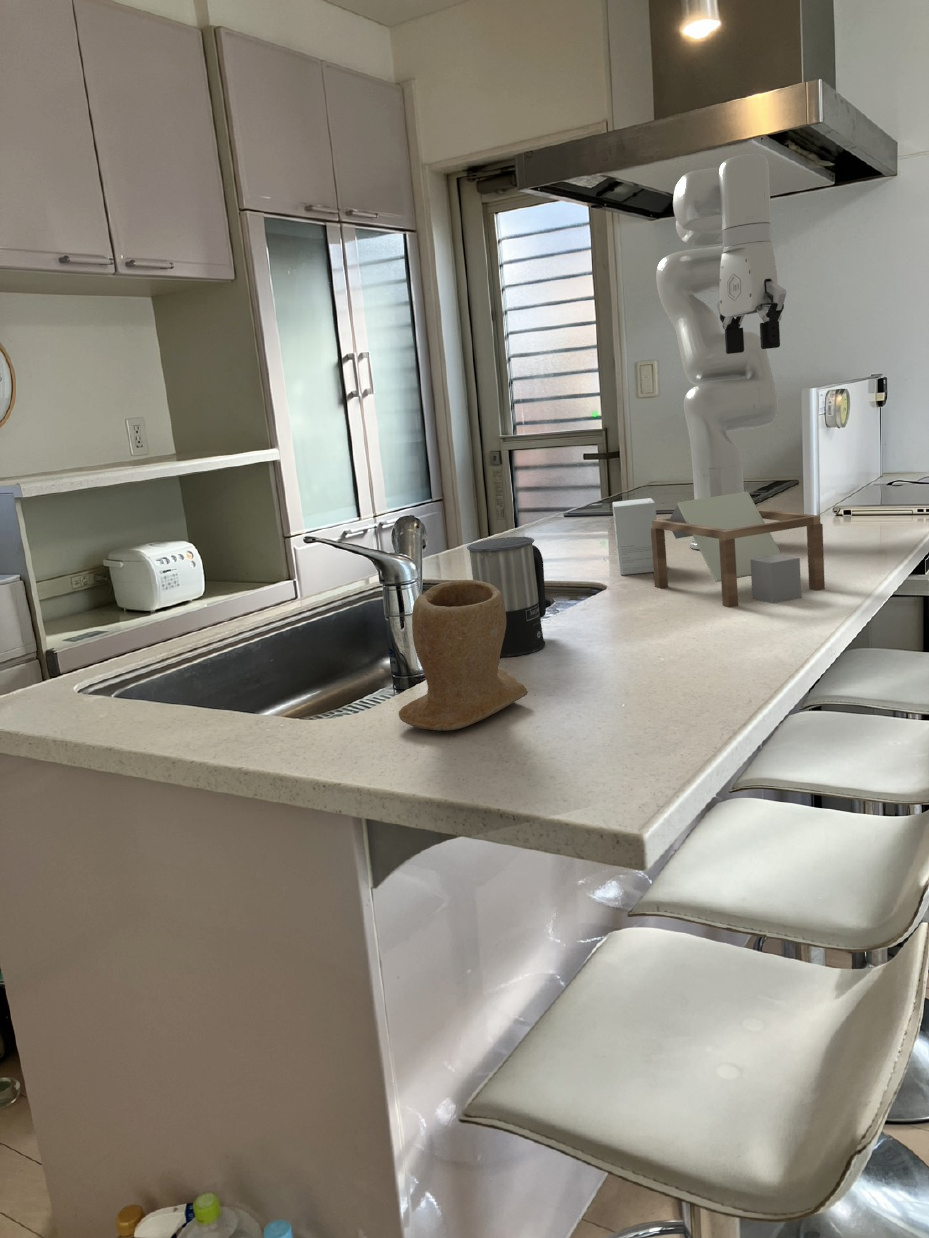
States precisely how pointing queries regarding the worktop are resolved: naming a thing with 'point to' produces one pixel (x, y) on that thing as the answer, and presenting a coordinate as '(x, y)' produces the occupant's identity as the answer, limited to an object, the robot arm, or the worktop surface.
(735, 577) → the frame
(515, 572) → the milk frother
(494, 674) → the stone cup
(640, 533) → the supplement box
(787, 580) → the grey near-cubic block
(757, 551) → the trapdoor
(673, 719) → the worktop surface
